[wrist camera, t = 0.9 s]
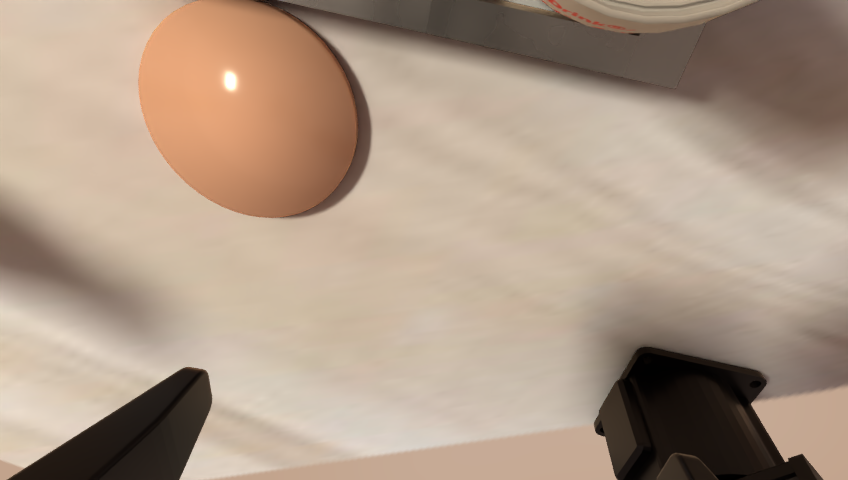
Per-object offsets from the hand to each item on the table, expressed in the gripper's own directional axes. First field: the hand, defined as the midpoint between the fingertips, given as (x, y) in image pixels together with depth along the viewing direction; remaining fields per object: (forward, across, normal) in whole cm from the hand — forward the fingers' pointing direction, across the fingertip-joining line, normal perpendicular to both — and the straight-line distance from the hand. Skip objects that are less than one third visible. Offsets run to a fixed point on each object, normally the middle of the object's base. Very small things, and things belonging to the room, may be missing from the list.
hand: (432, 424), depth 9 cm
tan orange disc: (+13, +9, -1) cm, 16 cm away
